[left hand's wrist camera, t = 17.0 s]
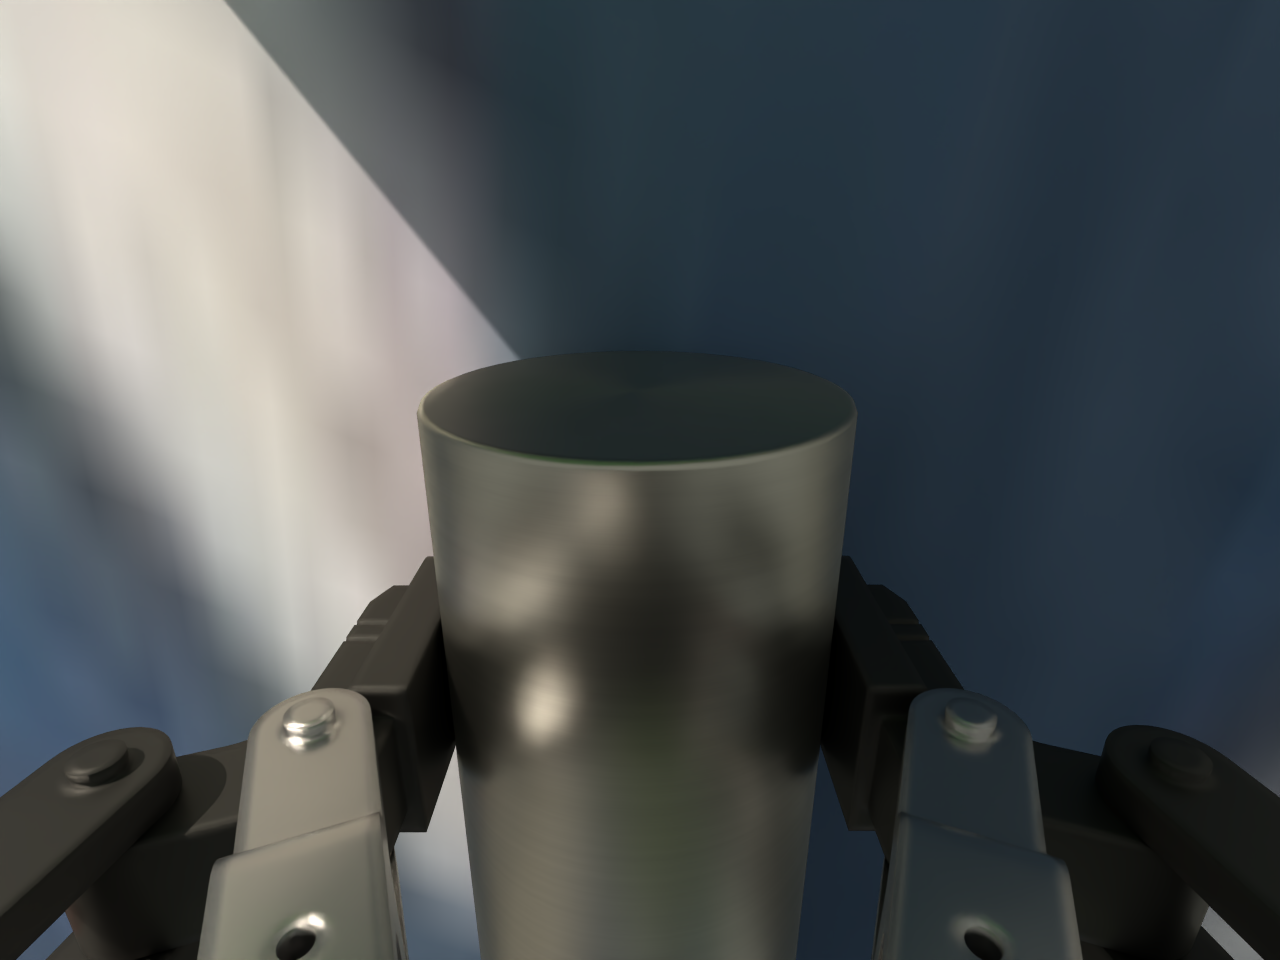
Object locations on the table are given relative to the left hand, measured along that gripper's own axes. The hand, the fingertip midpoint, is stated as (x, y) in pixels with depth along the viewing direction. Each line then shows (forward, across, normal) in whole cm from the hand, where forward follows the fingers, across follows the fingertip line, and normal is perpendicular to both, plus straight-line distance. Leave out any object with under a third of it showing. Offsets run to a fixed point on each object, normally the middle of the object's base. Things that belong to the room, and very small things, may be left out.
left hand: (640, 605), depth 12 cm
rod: (+1, 0, -7) cm, 7 cm away
